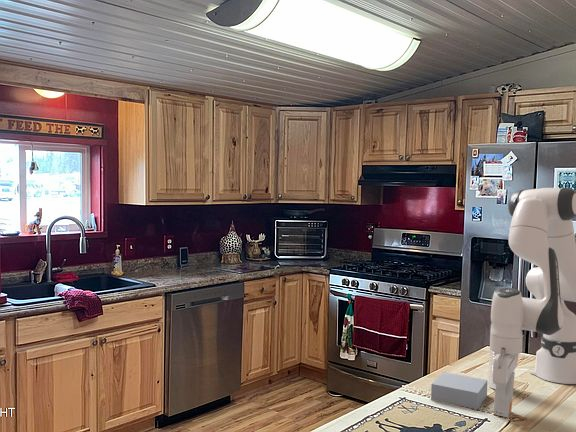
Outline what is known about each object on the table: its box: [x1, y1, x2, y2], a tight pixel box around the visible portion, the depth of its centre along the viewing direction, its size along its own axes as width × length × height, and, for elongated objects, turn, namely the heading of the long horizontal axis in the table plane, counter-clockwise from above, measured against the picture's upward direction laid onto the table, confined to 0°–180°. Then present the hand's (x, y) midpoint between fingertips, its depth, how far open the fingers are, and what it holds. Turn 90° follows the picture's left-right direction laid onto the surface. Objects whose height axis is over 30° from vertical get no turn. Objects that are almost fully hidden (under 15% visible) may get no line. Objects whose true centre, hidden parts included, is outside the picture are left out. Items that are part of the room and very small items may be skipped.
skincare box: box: [493, 371, 516, 418], centre depth 160 cm, size 6×4×12 cm
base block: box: [430, 371, 488, 410], centre depth 172 cm, size 14×14×5 cm
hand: (504, 390), depth 160 cm, fingers closed on skincare box, 6 cm apart
